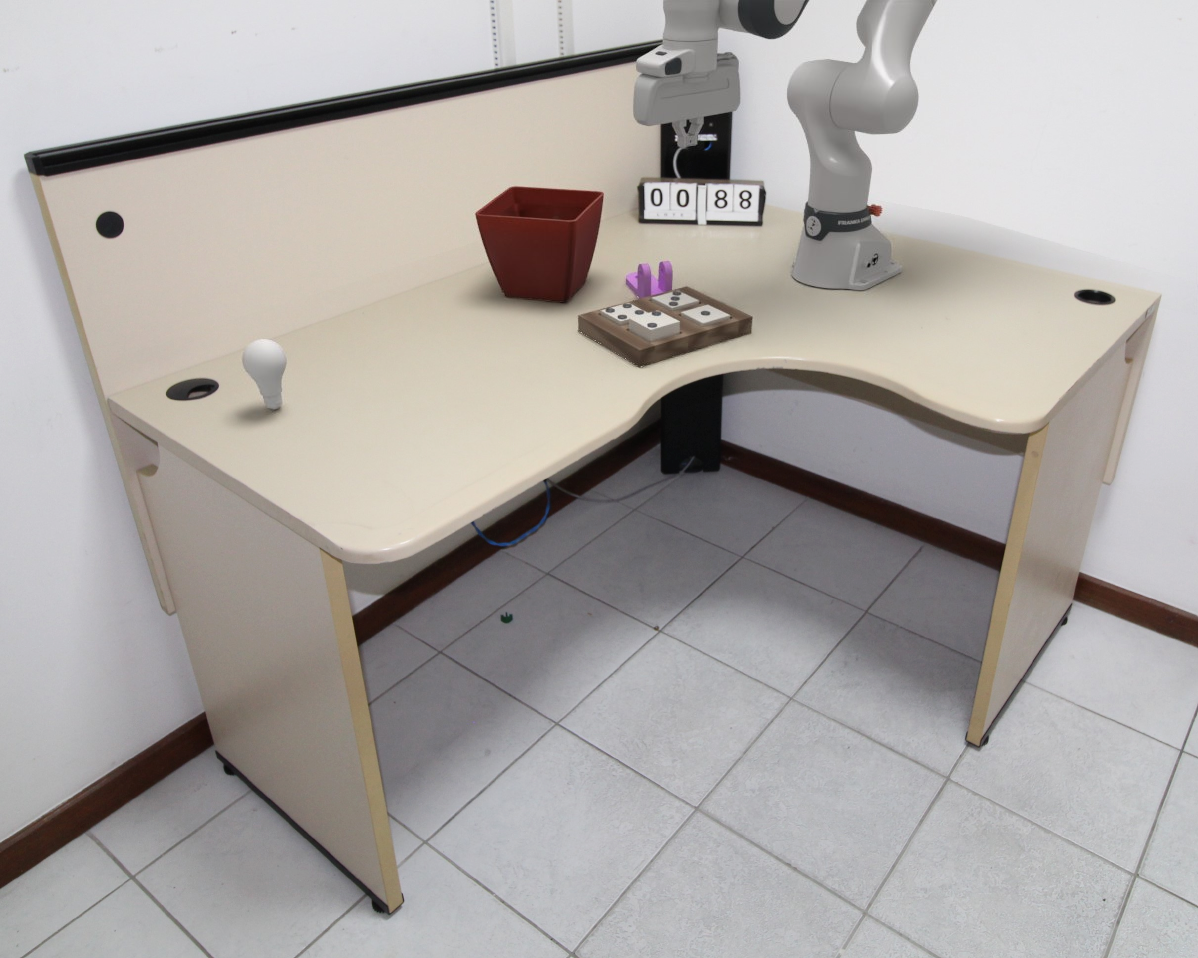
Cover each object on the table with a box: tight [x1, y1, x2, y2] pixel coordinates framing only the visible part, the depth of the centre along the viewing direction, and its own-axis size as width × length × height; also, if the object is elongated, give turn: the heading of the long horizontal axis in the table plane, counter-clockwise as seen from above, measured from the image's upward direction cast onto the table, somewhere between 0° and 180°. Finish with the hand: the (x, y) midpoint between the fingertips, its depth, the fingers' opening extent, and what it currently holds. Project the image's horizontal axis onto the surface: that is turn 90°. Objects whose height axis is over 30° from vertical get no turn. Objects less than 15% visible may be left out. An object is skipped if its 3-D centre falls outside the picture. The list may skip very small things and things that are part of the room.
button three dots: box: [651, 291, 699, 312], centre depth 171 cm, size 6×6×3 cm
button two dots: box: [629, 310, 680, 343], centre depth 159 cm, size 6×6×3 cm
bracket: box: [625, 260, 674, 299], centre depth 182 cm, size 13×6×7 cm, turn 17°
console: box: [577, 285, 754, 368], centre depth 166 cm, size 24×18×3 cm
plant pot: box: [474, 185, 605, 303], centre depth 180 cm, size 19×19×17 cm
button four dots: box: [601, 303, 647, 326], centre depth 166 cm, size 6×6×3 cm
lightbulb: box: [241, 338, 288, 411], centre depth 140 cm, size 6×6×11 cm
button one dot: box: [681, 305, 730, 327], centre depth 165 cm, size 6×6×3 cm
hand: (687, 146), depth 162 cm, fingers closed
